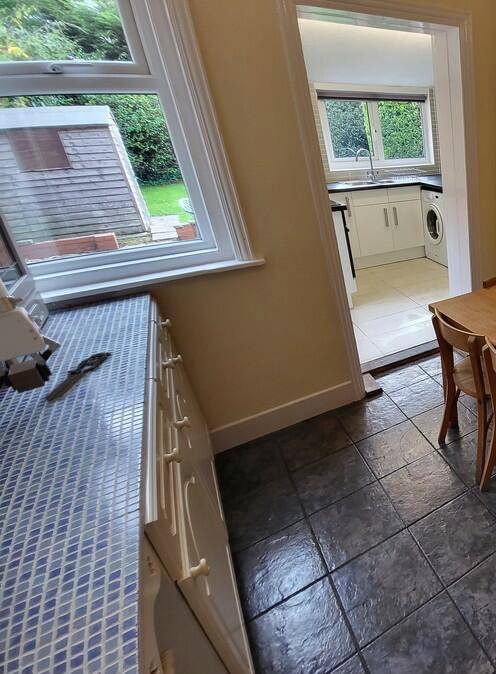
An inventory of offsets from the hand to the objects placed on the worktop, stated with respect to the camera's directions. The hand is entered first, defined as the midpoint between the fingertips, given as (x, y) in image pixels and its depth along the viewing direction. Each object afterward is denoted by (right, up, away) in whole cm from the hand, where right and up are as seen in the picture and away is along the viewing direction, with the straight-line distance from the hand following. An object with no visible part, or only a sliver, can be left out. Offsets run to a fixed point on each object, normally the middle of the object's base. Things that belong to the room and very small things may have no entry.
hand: (32, 382), depth 92 cm
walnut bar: (0, 0, 0) cm, 0 cm away
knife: (-3, -1, +13) cm, 14 cm away
